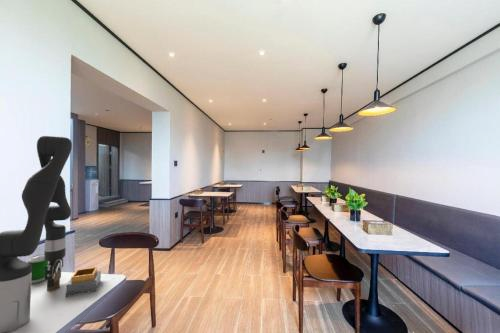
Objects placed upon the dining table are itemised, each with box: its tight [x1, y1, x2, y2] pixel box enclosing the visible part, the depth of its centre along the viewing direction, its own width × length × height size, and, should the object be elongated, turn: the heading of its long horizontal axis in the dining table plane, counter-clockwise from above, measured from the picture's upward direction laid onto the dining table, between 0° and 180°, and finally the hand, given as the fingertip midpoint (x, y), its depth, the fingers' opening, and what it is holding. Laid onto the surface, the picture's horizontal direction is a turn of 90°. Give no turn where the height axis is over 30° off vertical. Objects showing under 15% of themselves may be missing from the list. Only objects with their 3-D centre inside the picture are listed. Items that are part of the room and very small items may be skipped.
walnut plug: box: [46, 269, 61, 292], centre depth 103 cm, size 4×4×8 cm
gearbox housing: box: [65, 267, 102, 297], centre depth 104 cm, size 11×11×8 cm
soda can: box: [27, 253, 49, 284], centre depth 111 cm, size 8×8×12 cm
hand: (54, 282), depth 103 cm, fingers open, 8 cm apart
